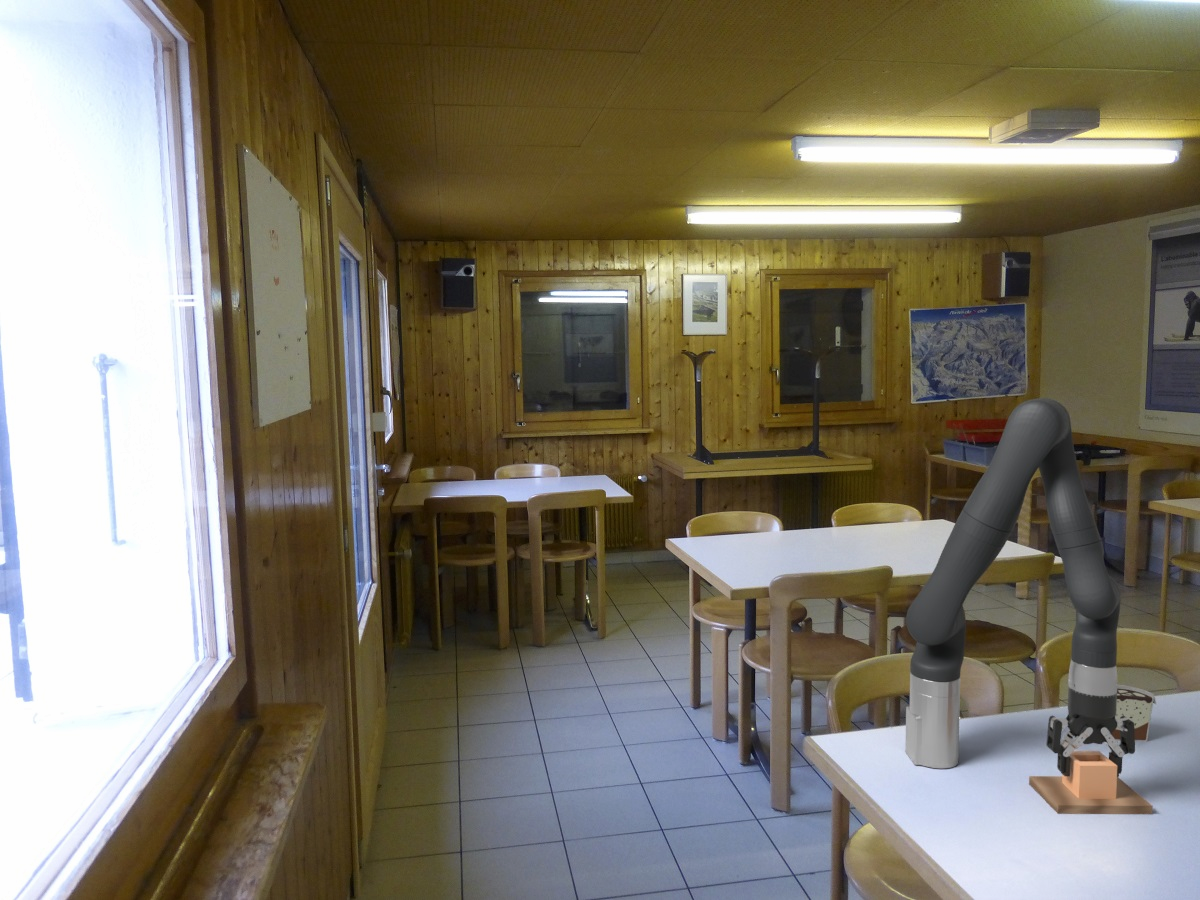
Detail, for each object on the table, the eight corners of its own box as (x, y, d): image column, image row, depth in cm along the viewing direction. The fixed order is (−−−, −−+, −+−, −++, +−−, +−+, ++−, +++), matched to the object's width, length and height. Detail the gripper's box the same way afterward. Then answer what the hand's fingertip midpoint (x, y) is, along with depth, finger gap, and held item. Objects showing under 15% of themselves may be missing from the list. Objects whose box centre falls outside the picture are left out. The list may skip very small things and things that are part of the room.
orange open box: (1078, 798, 153) (1080, 765, 153) (1062, 782, 159) (1063, 750, 159) (1116, 798, 153) (1117, 765, 153) (1097, 782, 159) (1099, 751, 159)
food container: (1139, 729, 186) (1141, 684, 185) (1154, 741, 180) (1156, 694, 179) (1078, 728, 187) (1080, 682, 186) (1091, 740, 181) (1093, 693, 180)
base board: (1057, 813, 151) (1059, 777, 151) (1029, 784, 162) (1030, 750, 162) (1152, 814, 151) (1153, 777, 150) (1116, 784, 162) (1118, 750, 161)
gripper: (1061, 694, 151) (1058, 784, 153) (1146, 694, 151) (1142, 784, 152) (1041, 679, 159) (1038, 765, 160) (1121, 679, 158) (1118, 765, 160)
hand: (1089, 774), depth 156 cm, fingers open, 8 cm apart
